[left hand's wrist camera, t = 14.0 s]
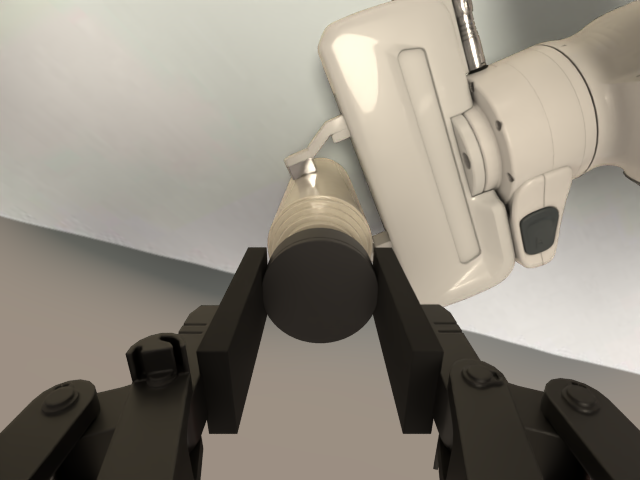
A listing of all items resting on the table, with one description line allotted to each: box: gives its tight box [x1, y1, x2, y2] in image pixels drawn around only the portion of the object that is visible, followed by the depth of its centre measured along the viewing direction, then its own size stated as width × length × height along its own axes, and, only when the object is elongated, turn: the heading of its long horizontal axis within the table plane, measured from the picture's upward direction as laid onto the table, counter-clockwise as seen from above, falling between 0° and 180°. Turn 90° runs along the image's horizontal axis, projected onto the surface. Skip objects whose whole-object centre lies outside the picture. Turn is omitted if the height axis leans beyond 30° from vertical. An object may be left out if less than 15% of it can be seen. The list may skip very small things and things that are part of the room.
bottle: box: [268, 158, 373, 258], centre depth 22 cm, size 6×6×18 cm
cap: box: [262, 228, 378, 343], centre depth 14 cm, size 5×4×2 cm
